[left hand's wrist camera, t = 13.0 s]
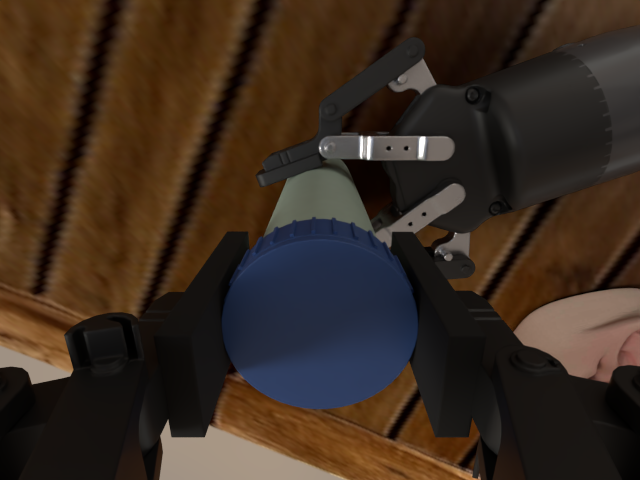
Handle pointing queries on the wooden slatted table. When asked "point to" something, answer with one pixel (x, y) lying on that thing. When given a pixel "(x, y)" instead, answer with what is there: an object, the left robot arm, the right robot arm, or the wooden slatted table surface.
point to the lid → (319, 315)
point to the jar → (321, 198)
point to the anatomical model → (588, 332)
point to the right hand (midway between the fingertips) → (278, 221)
